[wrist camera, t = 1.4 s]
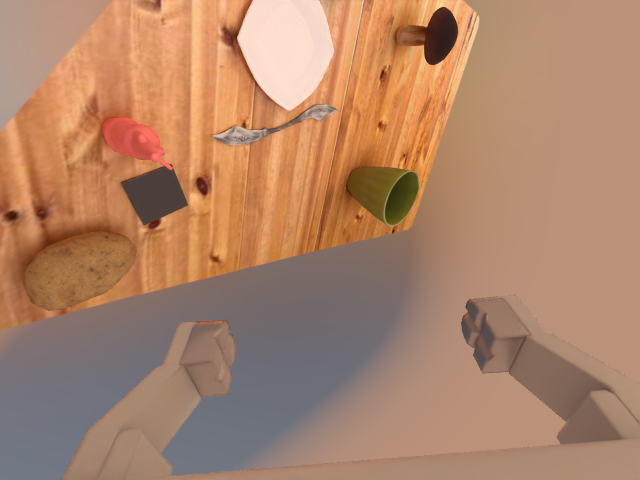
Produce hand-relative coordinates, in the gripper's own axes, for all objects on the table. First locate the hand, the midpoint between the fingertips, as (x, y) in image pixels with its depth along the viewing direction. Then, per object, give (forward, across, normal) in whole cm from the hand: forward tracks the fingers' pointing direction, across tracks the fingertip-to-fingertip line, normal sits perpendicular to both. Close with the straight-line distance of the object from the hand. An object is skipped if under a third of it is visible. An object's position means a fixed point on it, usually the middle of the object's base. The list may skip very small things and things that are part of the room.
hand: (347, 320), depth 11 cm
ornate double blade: (+60, +6, +8) cm, 61 cm away
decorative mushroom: (+84, -22, -4) cm, 87 cm away
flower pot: (+76, -10, +30) cm, 82 cm away
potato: (+33, +38, +18) cm, 54 cm away
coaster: (+42, +28, +14) cm, 52 cm away
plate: (+61, +4, -5) cm, 61 cm away
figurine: (+40, +28, +3) cm, 49 cm away
